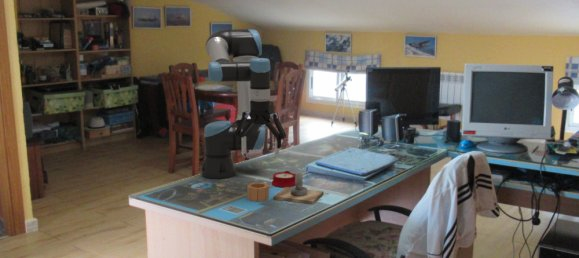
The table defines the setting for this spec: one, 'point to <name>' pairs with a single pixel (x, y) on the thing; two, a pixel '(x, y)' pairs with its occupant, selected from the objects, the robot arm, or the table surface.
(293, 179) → the alarm clock
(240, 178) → the table surface
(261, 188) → the ring
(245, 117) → the robot arm
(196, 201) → the table surface
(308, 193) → the post board
